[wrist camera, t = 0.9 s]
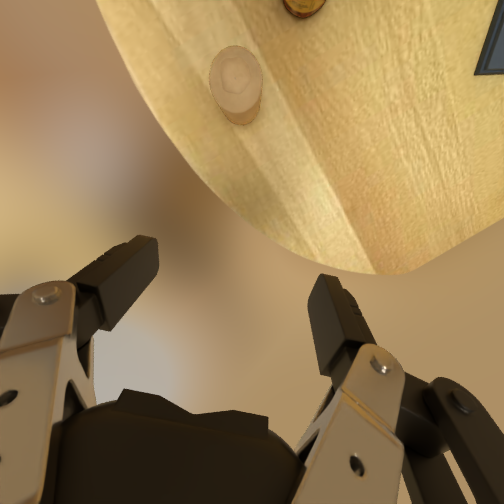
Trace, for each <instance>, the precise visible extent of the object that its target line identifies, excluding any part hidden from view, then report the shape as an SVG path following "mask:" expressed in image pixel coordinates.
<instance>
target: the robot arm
mask: <svg viewBox="0 0 504 504" xmlns="http://www.w3.org/2000/svg"><path fill="white" fill-rule="evenodd" d="M158 269H159V255H158V242H157V239H156V238H152V237H148V236H143V235H137V236H136V237H135V238H133V239H132V240H130V241H129V242H128V243H122V244H120V245H117V246H114V247H112V248H111V249H110V250H108V251H107V252H105V253H104V255H101V256H100V257H98V258H97V260H96V261H95V260H94V261H93V262H91V263H90V264H89V265H87V266H86V267H84V268H83V269H82V270H80V271H79V272H78V273H76V274H75V275H73V276H72V277H71V278H69V279H68V280H66V281H49V282H45V283H41V284H38V285H35V286H33V287H31V288H29V289H27V290H25V291H24V292H22V294H7V295H6V294H4V295H0V504H397V497H398V491H399V484H400V476H401V472H402V475H403V478H404V481H405V484H406V487H407V490H408V493H409V495H410V499H411V501H412V504H468V503H467V501H466V499H465V497H464V495H463V493H462V491H461V489H460V487H459V485H458V483H457V481H456V479H455V477H454V475H453V473H452V471H451V469H450V466H449V464H448V462H447V460H446V458H445V456H444V454H443V453H444V452H446V451H448V450H451V452H452V454H453V456H454V458H455V460H456V462H457V464H458V466H459V468H460V470H461V472H462V473H463V476H464V477H465V479H466V481H467V483H468V485H469V487H470V489H471V491H472V493H473V495H474V497H475V500H476V503H477V504H504V434H503V433H502V432H501V430H500V429H499V427H498V426H497V424H496V423H495V422H494V420H493V419H492V418H491V417H490V415H489V413H488V412H487V411H486V409H485V408H484V407H483V406H482V404H481V403H480V402H479V401H478V400H477V399H476V397H475V396H473V394H471V393H470V392H469V391H468V390H467V389H465V388H464V387H462V386H461V385H460V384H458V383H456V382H454V381H452V380H450V379H448V378H444V377H438V378H436V379H434V380H433V381H432V382H431V383H427V382H425V381H423V380H421V379H418V378H417V377H414V376H412V375H410V374H408V373H406V372H404V370H403V368H402V366H401V365H400V363H399V362H398V361H397V359H396V358H395V357H394V356H393V355H392V354H391V353H389V352H388V351H387V350H385V349H384V348H382V347H379V346H377V344H376V342H375V339H374V337H373V335H372V333H371V331H370V329H369V327H368V325H367V323H366V321H365V319H364V317H363V316H362V313H361V311H360V309H359V308H358V304H357V302H356V300H355V298H354V297H353V296H352V295H351V294H350V293H349V292H348V291H347V290H346V289H343V288H342V285H341V283H340V281H339V279H338V277H336V276H331V275H326V274H320V275H319V276H318V278H317V281H316V283H315V285H314V287H313V289H312V291H311V294H310V296H309V299H308V313H309V318H310V324H311V329H312V334H313V339H314V344H315V350H316V354H317V360H318V365H319V370H320V375H324V376H329V377H331V380H332V385H331V386H330V387H329V389H328V391H327V393H326V395H325V397H324V399H323V400H322V402H321V404H320V406H319V408H318V410H317V412H316V413H315V415H314V417H313V419H312V421H311V423H310V425H309V427H308V428H307V430H306V432H305V433H304V434H303V436H302V437H301V439H300V441H299V442H298V444H297V445H296V447H295V449H294V451H293V450H292V448H290V446H289V445H288V444H287V443H286V442H285V441H284V440H283V439H282V438H281V437H279V436H278V435H277V434H276V433H274V432H273V431H271V430H269V429H268V417H266V416H261V415H256V414H251V413H246V412H241V411H236V410H229V411H220V412H213V413H204V414H191V413H189V412H188V411H186V410H184V409H182V408H180V407H179V406H177V405H175V404H174V403H172V402H170V401H168V400H167V399H165V398H163V397H161V396H159V395H155V394H149V393H144V392H139V391H134V390H129V389H123V391H122V393H121V394H120V396H119V398H118V400H114V401H109V402H105V403H101V404H98V405H96V397H95V392H94V385H93V367H94V364H93V363H94V358H93V357H94V352H93V351H94V339H93V335H94V333H95V332H96V331H97V330H98V329H100V330H105V331H111V330H112V329H113V328H114V327H115V325H116V324H117V323H118V322H119V320H120V319H121V318H122V317H123V316H124V314H125V313H126V312H127V311H128V309H129V308H130V307H131V306H132V305H133V303H134V302H135V301H136V300H137V298H138V297H139V296H140V295H141V293H142V292H143V291H144V290H145V288H146V287H147V286H148V285H149V284H150V283H151V281H152V280H153V279H154V278H155V276H156V275H157V272H158Z"/></svg>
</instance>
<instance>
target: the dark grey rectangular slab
mask: <svg viewBox="0 0 504 504" xmlns="http://www.w3.org/2000/svg"><path fill="white" fill-rule="evenodd" d="M491 74H504V0H499V1H498V4H497V7H496V10H495V13H494V16H493V20H492V23H491V26H490V29H489V32H488V35H487V38H486V41H485V44H484V47H483V50H482V53H481V56H480V59H479V62H478V65H477V68H476V71H475V74H474V75H491Z"/></svg>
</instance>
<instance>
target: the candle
mask: <svg viewBox="0 0 504 504" xmlns="http://www.w3.org/2000/svg"><path fill="white" fill-rule="evenodd" d="M262 80H263V79H262V71H261V68H260V65H259V63H258V61H257V59H256V57H255V56H254V55H253V54H252V53H251V52H250V51H249V50H247V49H246V48H243V47H241V46H230V47H227V48H225V49H223V50H222V51H220V52H219V53H218V54H217V56H216V57H215V58H214V60H213V62H212V65H211V68H210V73H209V83H210V89H211V92H212V95H213V97H214V99H215V100H216V102H217V104H218V105H219V107H220V108H221V110H222V111H223V113H224V114H225V116H226V117H227V118H228V119H229V120H230V121H231V122H232V123H234V124H238V125H244V124H247V123H249V122H251V121H252V120H253V119H254V118H255V117H256V115H257V113H258V111H259V107H260V101H261V92H262Z"/></svg>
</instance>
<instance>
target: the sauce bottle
mask: <svg viewBox="0 0 504 504" xmlns="http://www.w3.org/2000/svg"><path fill="white" fill-rule="evenodd" d="M283 1H284V4H285V6H286V8H287V9H288V10H289V11H290V12H291V13H293V14H294V15H296V16H299V17H301V18H305V17H307V16H310V15H312V14H313V13H314V12H316V11H317V10H318V9H319V8H320V7H321V6H322V5H323V4H324V2H325V1H326V0H283Z"/></svg>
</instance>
